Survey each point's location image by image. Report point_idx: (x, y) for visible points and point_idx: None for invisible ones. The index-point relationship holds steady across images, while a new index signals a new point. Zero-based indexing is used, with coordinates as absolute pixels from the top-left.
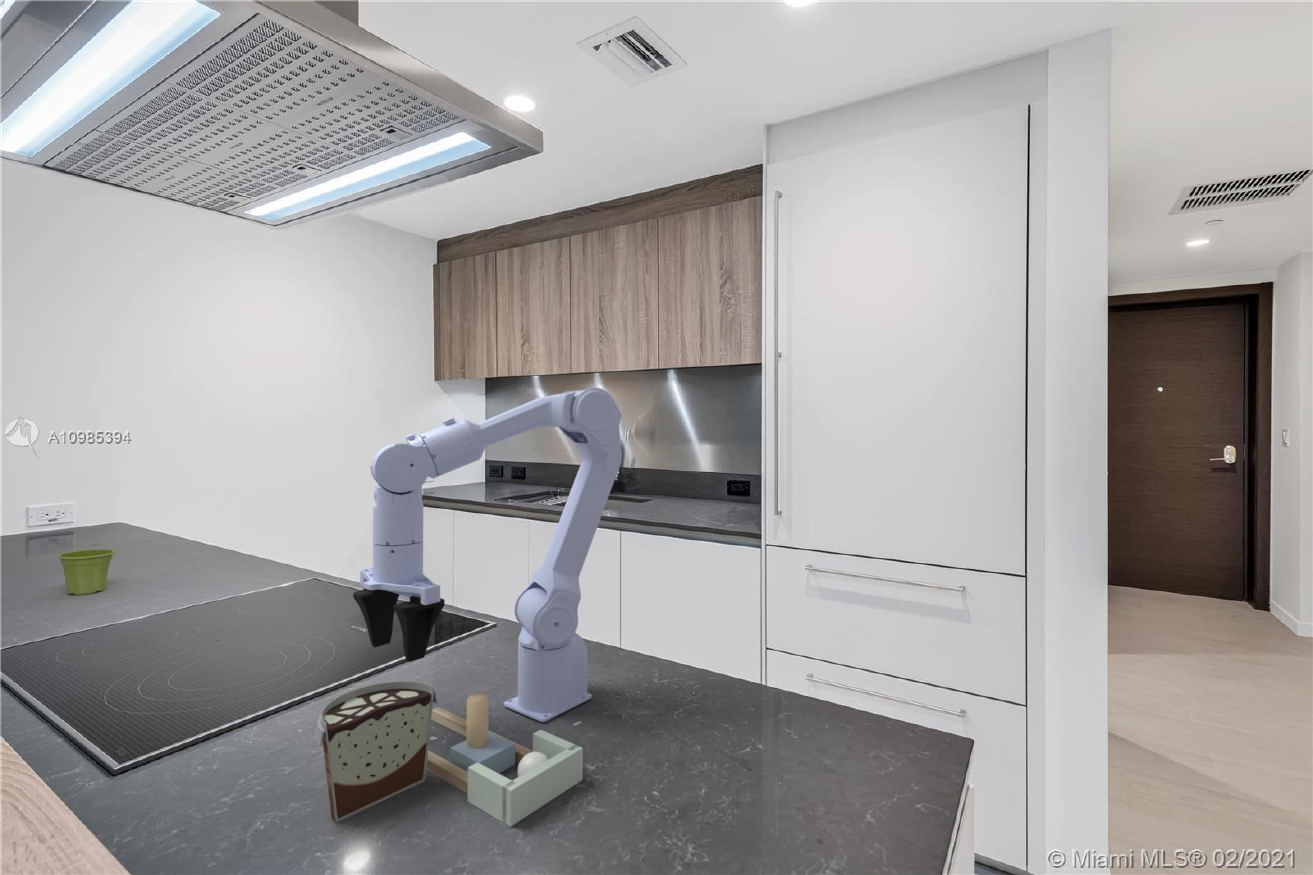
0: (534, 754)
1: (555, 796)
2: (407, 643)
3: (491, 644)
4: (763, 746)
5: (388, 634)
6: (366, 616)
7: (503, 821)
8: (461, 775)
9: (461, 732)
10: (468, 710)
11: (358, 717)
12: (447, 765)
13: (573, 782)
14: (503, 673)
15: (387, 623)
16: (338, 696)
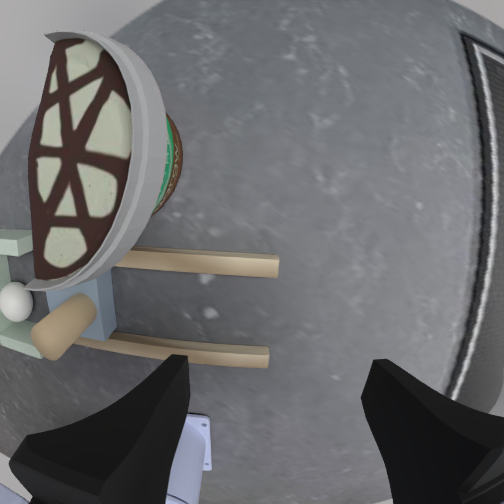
0: (2, 307)
1: None
2: (142, 383)
3: (371, 478)
4: (3, 416)
5: (371, 412)
6: (440, 408)
7: (2, 229)
8: None
9: (182, 342)
10: (50, 318)
11: (44, 104)
12: None
13: None
14: (295, 460)
15: (385, 435)
16: (129, 90)
